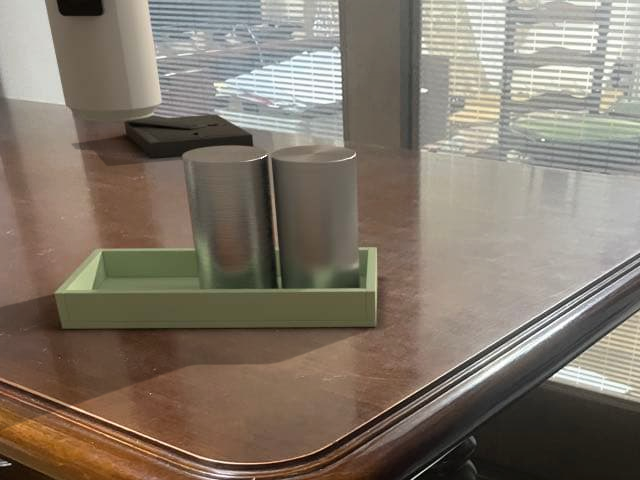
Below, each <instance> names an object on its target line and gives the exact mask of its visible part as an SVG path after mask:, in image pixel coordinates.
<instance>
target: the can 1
mask: <svg viewBox="0 0 640 480" xmlns="http://www.w3.org/2000/svg"><path fill="white" fill-rule="evenodd" d="M103 1H104V7H105V13H104V14H103V15H101V16H63V15H61V14H60V12H59V10H58V5H57V0H44V4H45V8H46V14H47V19H48V23H49V28H50V33H51V39H52V44H53V49H54V54H55V60H56V64H57V69H58V74H59V79H60V84H61V88H62V89H61V90H62V94H63V99H64V103H65V107H67V108H68V109H69V110H71V111H72V112H73V113H75V114H76V115H77V117H78V118H79V119H80V120H84V121H89V122H124V121H127V120H136V119H142V118H147V117H150V116H153V115H154V114H155V112H156V110H157V109H158V108H159V107H160V105H161V104H162V102H163V99H162V91H161V83H160V79H159V71H158V63H157V55H156V50H155V42H154V36H153V27H152V22H151V15H150V7H149V0H103Z"/></svg>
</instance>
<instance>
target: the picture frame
mask: <svg viewBox="0 0 640 480" xmlns="http://www.w3.org/2000/svg"><path fill="white" fill-rule="evenodd" d="M123 122H124V128H125V129H124V130H125V135H126V136H127V137H128V138H129V139H130V140H132V141H133V142H134V144H136V145H137V146H138V147H139V148H141V149H142V151H144V152H145V153H146V154H147V155H149V156H150V157H151V158H152V159H159V158H169V157H170V158H171V157H180V156H181V157H182V155H183V154H184V153H185V152H188V151H190V150H194V149H198V148H204V147H212V146H250V147H254V139H253V134H252V133H250V132H248V131H246V130H244V129H243V128H241V127H240V126H237V125H236V124H234V123H232V122H230V121H229V120H227V119H225V118H223V117H222V116H220V115H218V114H207V115H204V114H203V115H194V116H193V115H192V116H179V117H164V116H159V115H154V114H153V115H152V116H150V117H147V118H142V119H136V120H127V121H123Z"/></svg>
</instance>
